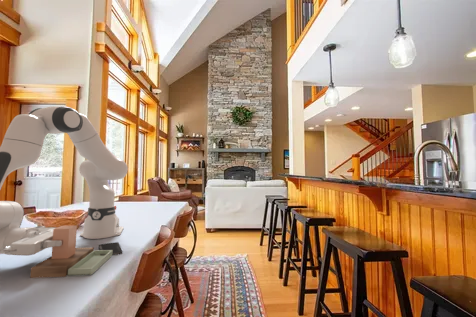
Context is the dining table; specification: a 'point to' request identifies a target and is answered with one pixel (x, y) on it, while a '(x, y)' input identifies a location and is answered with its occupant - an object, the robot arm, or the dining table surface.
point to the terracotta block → (64, 242)
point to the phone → (111, 248)
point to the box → (90, 263)
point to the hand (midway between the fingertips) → (67, 240)
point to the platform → (59, 264)
